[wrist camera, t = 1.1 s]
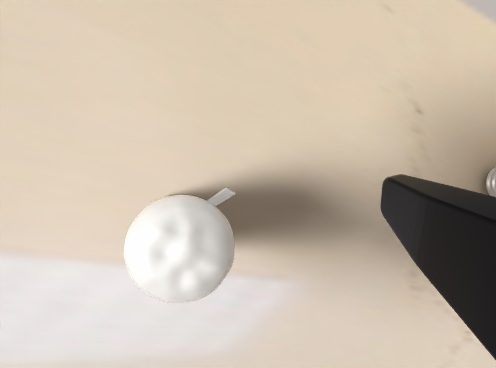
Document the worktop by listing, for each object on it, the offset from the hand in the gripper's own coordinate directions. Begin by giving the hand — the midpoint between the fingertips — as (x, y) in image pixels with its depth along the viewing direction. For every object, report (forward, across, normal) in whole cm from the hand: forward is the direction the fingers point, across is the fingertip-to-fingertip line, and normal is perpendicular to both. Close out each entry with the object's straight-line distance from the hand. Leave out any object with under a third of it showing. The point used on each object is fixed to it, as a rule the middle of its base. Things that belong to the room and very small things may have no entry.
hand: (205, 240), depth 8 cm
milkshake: (+14, +1, +8) cm, 16 cm away
